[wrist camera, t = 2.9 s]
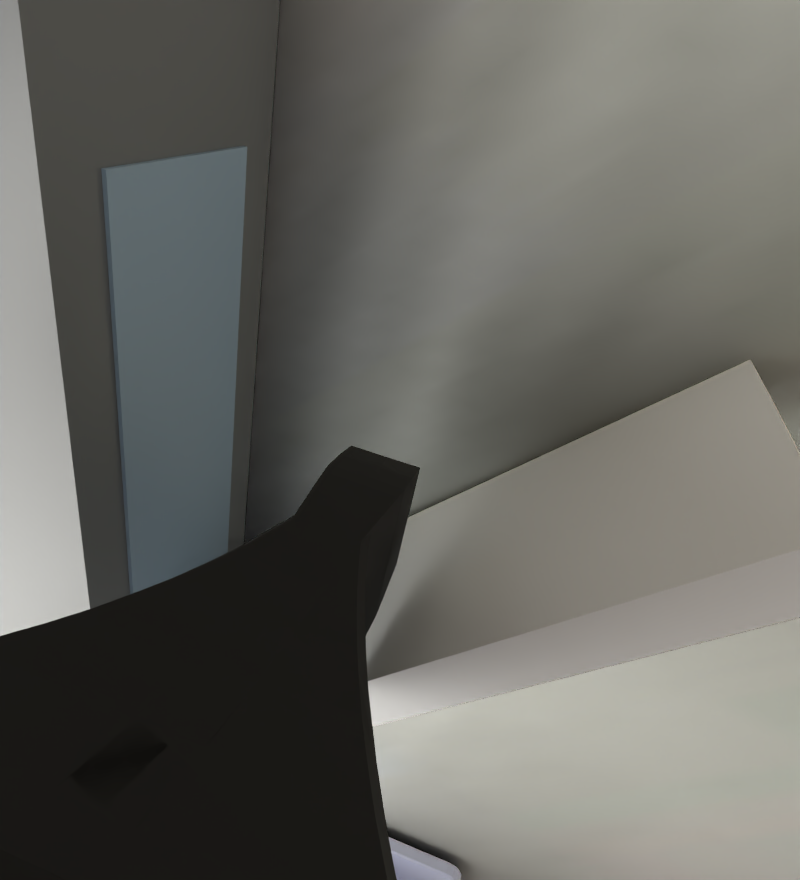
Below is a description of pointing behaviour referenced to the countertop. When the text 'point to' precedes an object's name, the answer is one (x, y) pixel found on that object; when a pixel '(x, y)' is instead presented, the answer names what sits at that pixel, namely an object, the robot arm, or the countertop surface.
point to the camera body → (127, 290)
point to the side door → (597, 554)
